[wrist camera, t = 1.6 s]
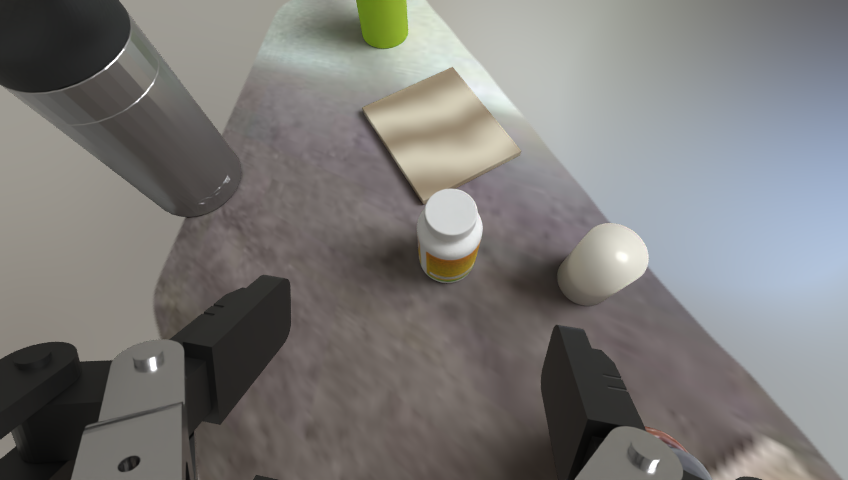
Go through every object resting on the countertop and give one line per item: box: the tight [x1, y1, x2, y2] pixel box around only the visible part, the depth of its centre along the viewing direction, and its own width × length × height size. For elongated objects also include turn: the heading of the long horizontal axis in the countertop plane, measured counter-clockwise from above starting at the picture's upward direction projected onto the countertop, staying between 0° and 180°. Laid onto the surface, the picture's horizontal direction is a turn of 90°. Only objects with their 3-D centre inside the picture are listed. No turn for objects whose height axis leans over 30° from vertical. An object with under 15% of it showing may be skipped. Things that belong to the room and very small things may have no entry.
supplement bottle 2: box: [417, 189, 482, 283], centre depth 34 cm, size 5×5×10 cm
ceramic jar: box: [557, 223, 649, 306], centre depth 34 cm, size 5×5×7 cm
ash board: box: [362, 67, 521, 205], centre depth 44 cm, size 14×12×1 cm
